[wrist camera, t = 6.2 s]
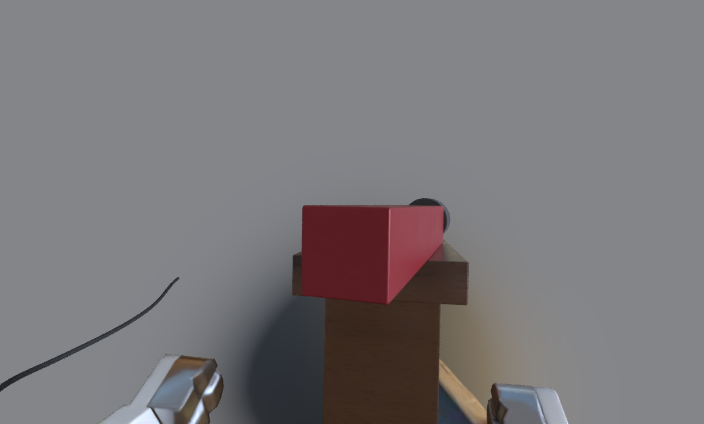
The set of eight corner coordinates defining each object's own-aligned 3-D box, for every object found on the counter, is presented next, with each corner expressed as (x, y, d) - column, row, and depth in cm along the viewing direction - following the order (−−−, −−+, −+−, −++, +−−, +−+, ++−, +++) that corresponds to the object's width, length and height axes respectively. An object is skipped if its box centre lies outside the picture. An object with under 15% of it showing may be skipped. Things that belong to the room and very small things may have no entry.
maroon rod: (398, 306, 11) (401, 187, 11) (292, 295, 12) (293, 186, 12) (449, 240, 32) (450, 199, 32) (408, 238, 33) (409, 198, 33)
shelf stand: (475, 725, 20) (488, 262, 19) (270, 680, 22) (275, 254, 21) (446, 513, 34) (453, 238, 33) (322, 495, 36) (326, 234, 35)
